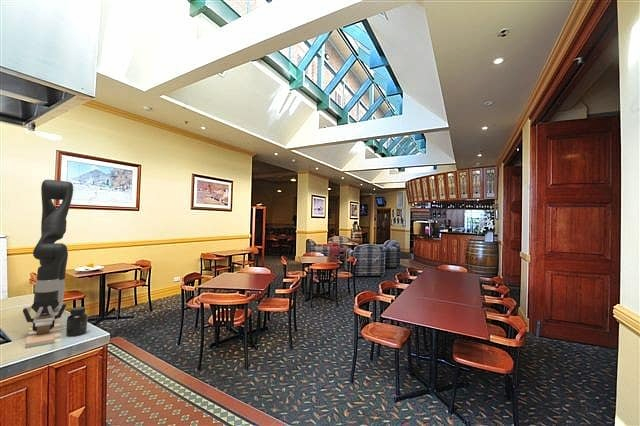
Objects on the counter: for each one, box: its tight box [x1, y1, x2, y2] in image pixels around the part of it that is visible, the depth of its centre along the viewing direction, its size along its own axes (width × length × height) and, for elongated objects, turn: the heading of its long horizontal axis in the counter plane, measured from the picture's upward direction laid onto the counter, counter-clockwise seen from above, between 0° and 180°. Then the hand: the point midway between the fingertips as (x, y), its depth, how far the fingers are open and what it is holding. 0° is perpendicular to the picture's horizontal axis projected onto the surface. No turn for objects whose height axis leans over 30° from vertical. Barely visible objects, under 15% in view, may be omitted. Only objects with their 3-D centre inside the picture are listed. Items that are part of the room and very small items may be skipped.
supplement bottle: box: [65, 306, 89, 338], centre depth 122 cm, size 7×7×12 cm
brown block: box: [35, 313, 52, 334], centre depth 118 cm, size 11×5×7 cm, turn 43°
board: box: [27, 321, 62, 343], centre depth 120 cm, size 26×10×1 cm, turn 43°
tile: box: [24, 333, 55, 349], centre depth 112 cm, size 2×8×8 cm
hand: (43, 329), depth 120 cm, fingers closed on brown block, 4 cm apart
